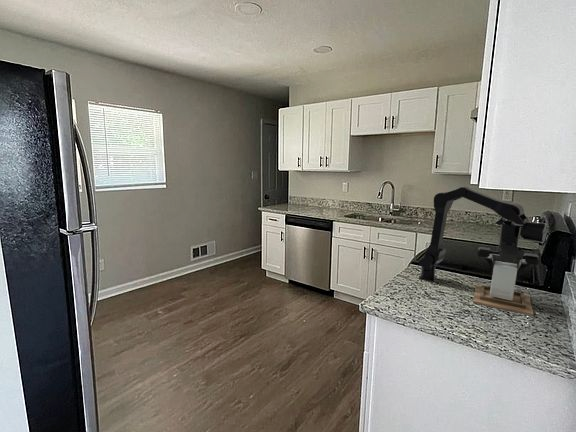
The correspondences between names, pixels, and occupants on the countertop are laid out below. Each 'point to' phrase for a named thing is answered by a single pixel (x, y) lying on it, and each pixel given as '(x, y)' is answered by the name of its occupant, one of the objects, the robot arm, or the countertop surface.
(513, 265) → the supplement box
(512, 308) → the wooden tray
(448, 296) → the countertop surface
